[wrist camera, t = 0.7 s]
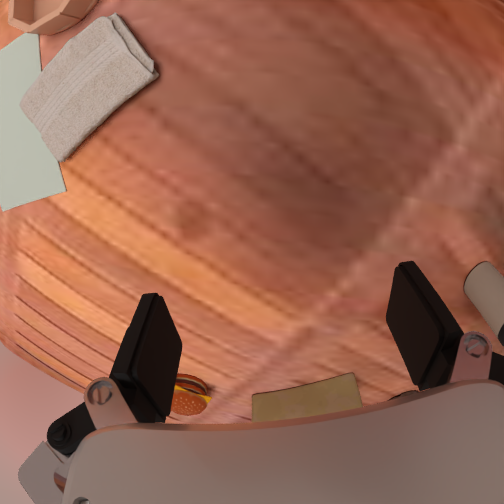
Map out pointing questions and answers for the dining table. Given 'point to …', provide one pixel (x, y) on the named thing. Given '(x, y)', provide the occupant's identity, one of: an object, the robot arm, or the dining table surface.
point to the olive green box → (307, 400)
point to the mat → (23, 130)
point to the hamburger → (189, 395)
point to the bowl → (47, 14)
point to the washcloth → (86, 84)
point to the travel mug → (488, 296)
